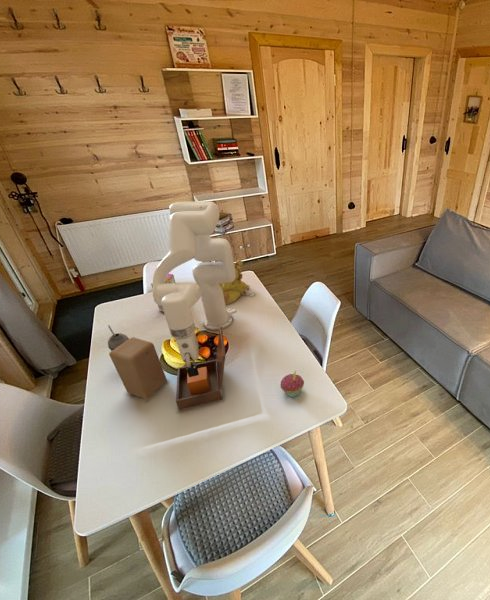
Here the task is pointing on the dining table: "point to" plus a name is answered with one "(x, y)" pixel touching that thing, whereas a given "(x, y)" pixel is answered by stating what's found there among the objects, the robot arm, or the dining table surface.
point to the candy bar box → (168, 280)
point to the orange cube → (199, 382)
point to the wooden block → (138, 367)
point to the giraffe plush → (234, 286)
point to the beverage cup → (116, 340)
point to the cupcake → (292, 384)
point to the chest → (188, 401)
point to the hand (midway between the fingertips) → (194, 366)
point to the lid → (220, 358)
